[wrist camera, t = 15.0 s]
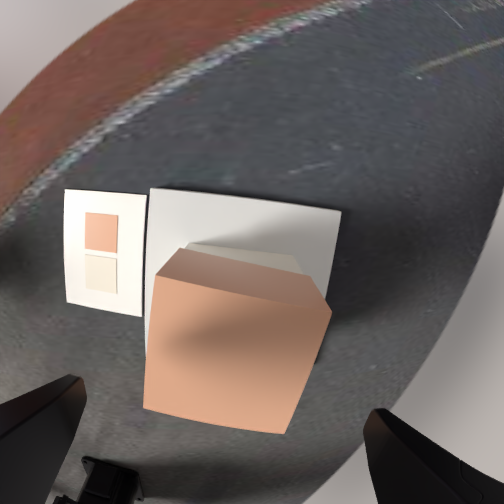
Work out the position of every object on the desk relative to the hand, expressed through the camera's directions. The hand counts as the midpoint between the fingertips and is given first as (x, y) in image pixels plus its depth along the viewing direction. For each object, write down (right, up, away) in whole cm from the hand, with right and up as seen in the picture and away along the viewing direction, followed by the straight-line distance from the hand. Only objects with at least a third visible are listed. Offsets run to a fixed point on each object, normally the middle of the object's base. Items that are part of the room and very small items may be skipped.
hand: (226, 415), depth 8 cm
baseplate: (0, +3, +11) cm, 12 cm away
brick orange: (0, +1, +6) cm, 7 cm away
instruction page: (-9, +5, +11) cm, 15 cm away
